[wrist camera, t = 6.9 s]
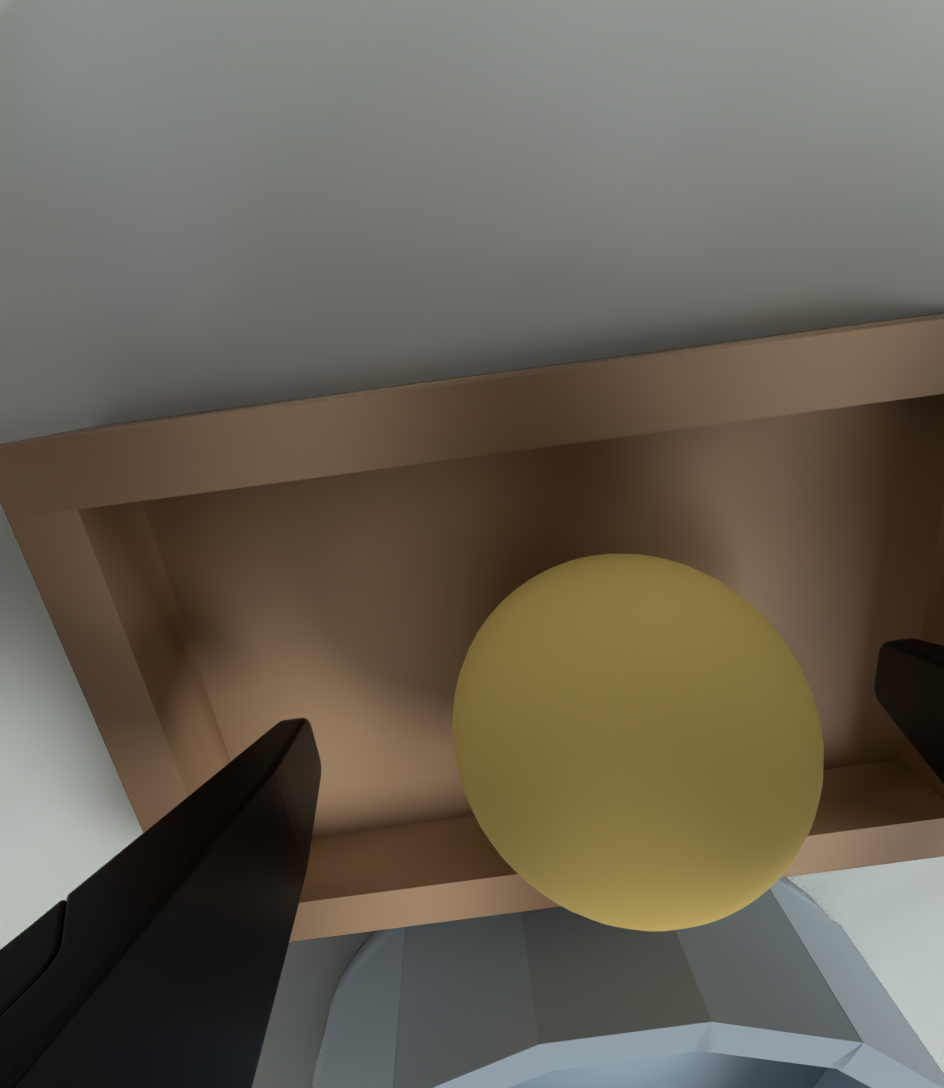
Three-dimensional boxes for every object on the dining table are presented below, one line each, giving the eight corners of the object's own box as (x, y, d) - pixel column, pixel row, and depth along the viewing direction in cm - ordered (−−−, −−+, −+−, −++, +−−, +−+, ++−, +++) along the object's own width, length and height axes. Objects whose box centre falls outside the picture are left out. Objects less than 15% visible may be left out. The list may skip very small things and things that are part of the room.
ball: (688, 494, 10) (979, 612, 5) (686, 721, 11) (903, 971, 7) (415, 541, 9) (453, 723, 4) (455, 773, 11) (513, 1086, 6)
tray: (979, 307, 10) (1155, 290, 7) (901, 758, 13) (1004, 848, 10) (94, 426, 10) (-22, 448, 7) (242, 844, 13) (196, 954, 10)
